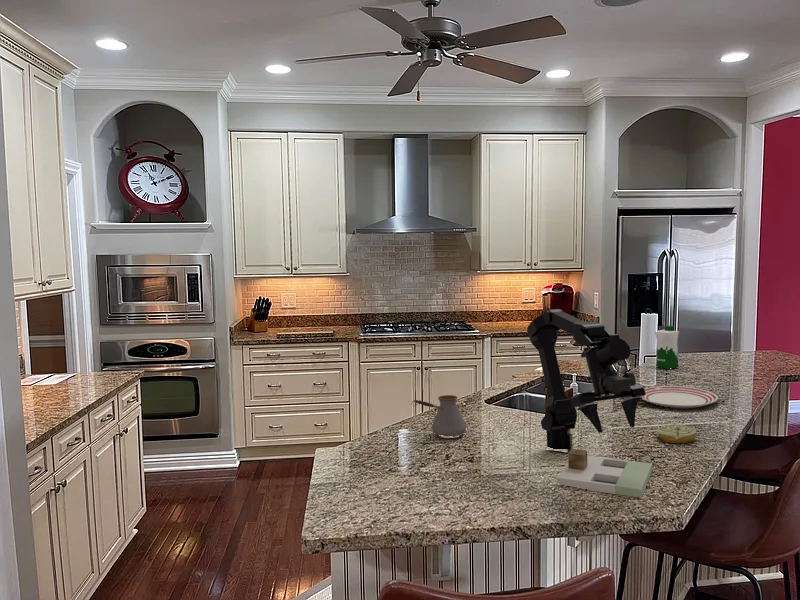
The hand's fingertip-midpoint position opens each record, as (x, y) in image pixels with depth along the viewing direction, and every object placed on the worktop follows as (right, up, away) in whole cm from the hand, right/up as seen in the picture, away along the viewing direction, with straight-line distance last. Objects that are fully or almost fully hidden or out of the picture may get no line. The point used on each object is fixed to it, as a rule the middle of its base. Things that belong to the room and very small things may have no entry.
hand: (616, 429), depth 150 cm
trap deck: (-2, -13, +3) cm, 14 cm away
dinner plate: (+49, -6, +73) cm, 88 cm away
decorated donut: (+30, -10, +31) cm, 44 cm away
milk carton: (+74, 0, +135) cm, 154 cm away
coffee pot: (-42, -13, +43) cm, 62 cm away
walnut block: (-8, -11, +7) cm, 15 cm away
